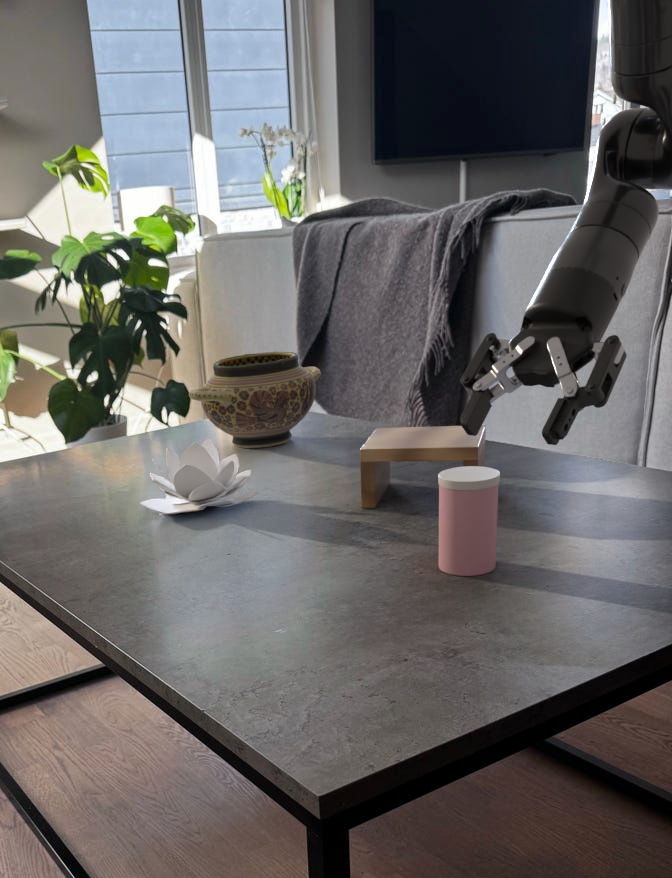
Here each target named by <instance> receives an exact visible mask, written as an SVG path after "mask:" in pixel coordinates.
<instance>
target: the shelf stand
mask: <svg viewBox="0 0 672 878" xmlns="http://www.w3.org/2000/svg"><path fill="white" fill-rule="evenodd" d="M486 428H487V426H486V424H482V426H481V428H480V430H479V432H478V434H477V435H476V436H472V435H468V434H467V433H466V432H465V430H464V429H463V428H462V425H444V426H443V425H439V426H407V427H406V426H404V427H403V426H402V427H400V426H399V427H377V428H375V429H374V431H373V432H372V433H371V435H370V436H369V437H368V439H367V440H366V441H365V443H364V444H363V445H362V446H361V447H360V448H359V461H360V493H361V495H360V499H361V501H360V502H361V503H360V504H361V509H376V508H377V505H378V504H379V502H380V500H381V499H382V497H383V496H384V494H385V492H386V490H387V489H388V487H389V486H390V484H391V462H451V461H453V462H455V461H458V462H460V461H462V467H464V466H481V467H486V466H485V465H486V464H485V462H486V461H485V460H486V433H487V432H486V430H487V429H486Z"/></svg>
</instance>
